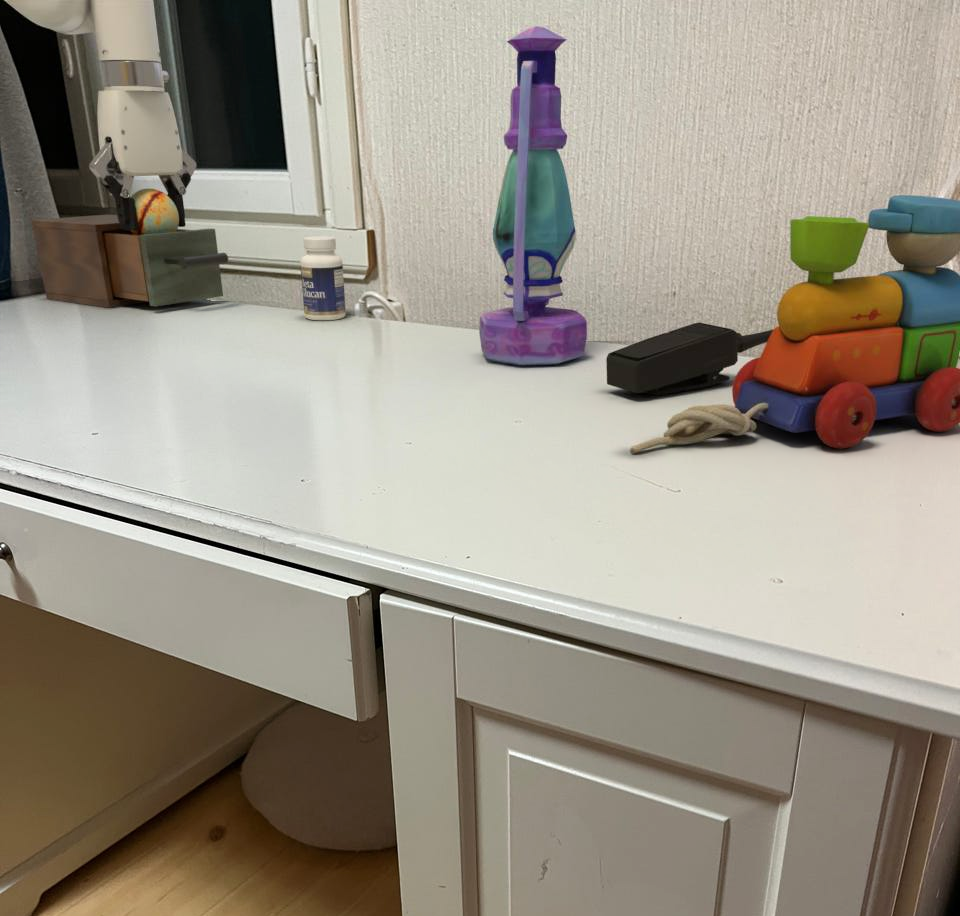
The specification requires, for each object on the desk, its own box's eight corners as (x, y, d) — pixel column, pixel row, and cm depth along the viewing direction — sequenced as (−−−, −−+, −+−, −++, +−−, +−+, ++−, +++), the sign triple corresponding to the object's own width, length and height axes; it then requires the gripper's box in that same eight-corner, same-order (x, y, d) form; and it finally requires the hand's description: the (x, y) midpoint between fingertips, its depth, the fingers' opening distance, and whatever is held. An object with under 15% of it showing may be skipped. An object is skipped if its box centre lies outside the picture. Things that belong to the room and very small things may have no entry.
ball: (118, 245, 134) (110, 189, 131) (148, 241, 140) (141, 187, 137) (163, 247, 132) (155, 190, 129) (192, 242, 138) (185, 187, 135)
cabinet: (184, 296, 147) (173, 218, 142) (109, 308, 138) (94, 224, 133) (120, 288, 155) (108, 214, 150) (46, 298, 146) (30, 220, 141)
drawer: (246, 298, 138) (238, 230, 134) (178, 309, 130) (167, 237, 126) (160, 288, 148) (150, 224, 144) (92, 297, 140) (80, 230, 136)
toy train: (593, 436, 77) (604, 204, 69) (872, 396, 88) (907, 191, 80) (686, 480, 67) (710, 214, 60) (987, 429, 78) (1040, 198, 70)
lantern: (495, 343, 112) (494, 34, 98) (596, 348, 109) (610, 30, 95) (461, 367, 100) (456, 21, 87) (574, 372, 98) (586, 16, 84)
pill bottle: (297, 320, 127) (290, 238, 123) (315, 313, 132) (309, 235, 127) (335, 321, 126) (329, 239, 121) (352, 315, 131) (347, 235, 126)
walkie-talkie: (590, 365, 91) (749, 322, 99) (621, 421, 90) (779, 374, 98) (619, 323, 85) (784, 282, 94) (653, 383, 84) (817, 336, 92)
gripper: (170, 82, 135) (187, 223, 143) (55, 77, 123) (81, 231, 131) (205, 81, 131) (221, 225, 139) (90, 75, 119) (114, 234, 127)
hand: (153, 227), depth 135 cm, fingers closed on ball, 7 cm apart
